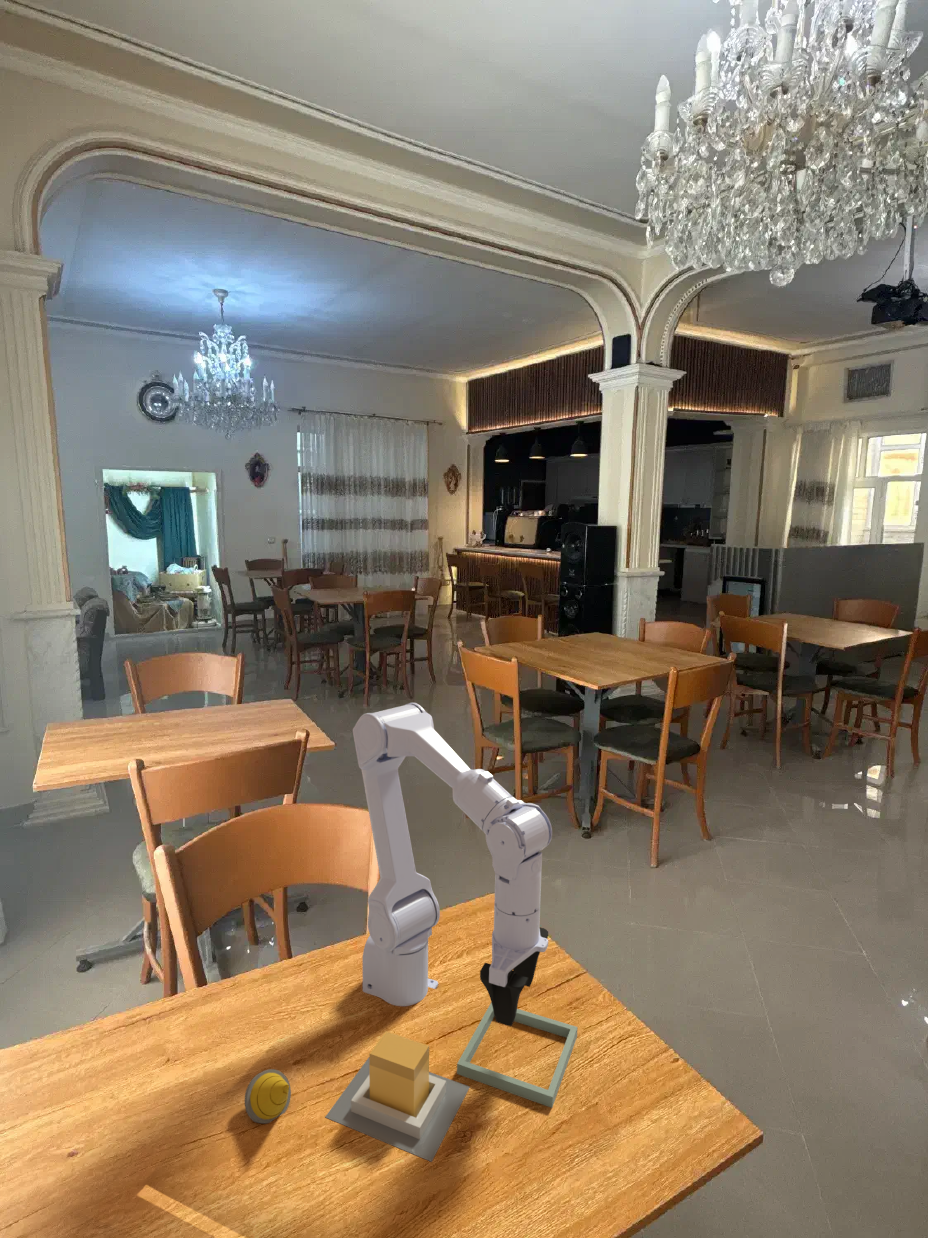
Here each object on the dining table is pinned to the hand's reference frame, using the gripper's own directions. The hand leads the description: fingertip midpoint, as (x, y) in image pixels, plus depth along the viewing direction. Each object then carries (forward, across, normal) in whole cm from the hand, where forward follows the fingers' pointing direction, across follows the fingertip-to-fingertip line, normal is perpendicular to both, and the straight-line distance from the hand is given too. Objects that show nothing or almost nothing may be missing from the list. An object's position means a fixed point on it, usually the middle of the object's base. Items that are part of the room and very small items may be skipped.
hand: (514, 1002), depth 86 cm
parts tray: (+10, +2, 0) cm, 10 cm away
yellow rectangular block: (+9, -10, +11) cm, 18 cm away
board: (+10, -10, +11) cm, 18 cm away
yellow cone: (+10, -17, +24) cm, 31 cm away
